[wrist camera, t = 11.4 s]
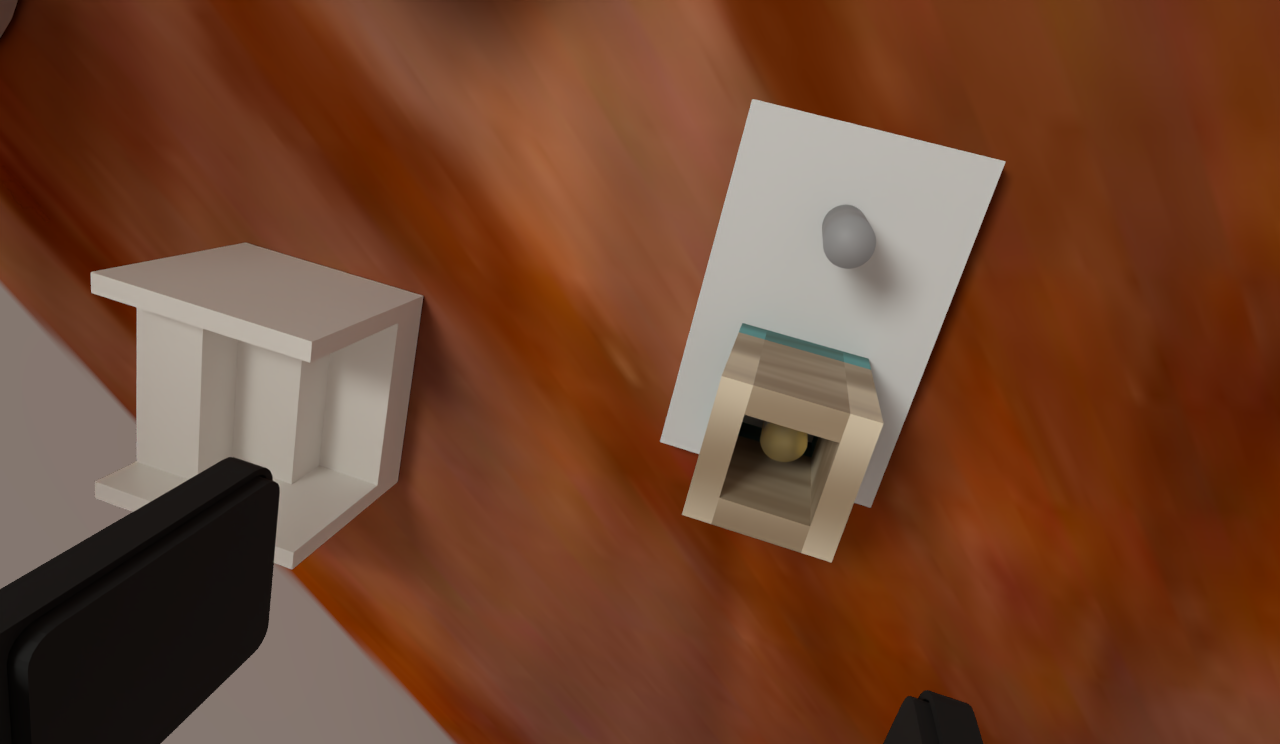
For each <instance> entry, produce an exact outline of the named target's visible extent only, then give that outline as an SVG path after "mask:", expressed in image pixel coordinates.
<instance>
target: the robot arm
mask: <svg viewBox="0 0 1280 744" xmlns="http://www.w3.org/2000/svg"><path fill="white" fill-rule="evenodd" d="M17 2H18V0H0V37H1V36H2V34H3V32H4V31H5V29H6V27H7V26H8V24H9V22H10V21H11V19H12V16H13V13H14V10H15V8H16V5H17ZM279 496H280V487H279V485H278V483H276V482H275V481H273V476H272V473H271V471H270V470H269V469H267V468H265V467H262V466H259V465H256V464H253V463H250V462H247V461H244V460H241V459H238V458H235V457H228V458H226V459H223V460H221V461H220V462H218V463H216V464H215V465H213V466H211V467H209V468H208V469H206V470H204V471H203V472H201V473H199V474H197V475H196V476H194V477H192V478H191V479H189V480H187V481H185V482H184V483H182V484H180V485H178V486H177V487H175V488H173V489H172V490H170V491H168V492H166V493H165V494H163V495H161V496H160V497H158V498H156V499H154V500H153V501H151V502H149V503H148V504H146V505H144V506H142V507H141V508H139V509H137V510H136V511H134V512H132V513H130V514H129V515H127V516H125V517H124V518H122V519H120V520H118V521H117V522H115V523H113V524H112V525H110V526H108V527H106V528H105V529H103V530H101V531H99V532H98V533H96V534H94V535H93V536H91V537H90V538H87V539H86V540H84V541H82V542H81V543H79V544H77V545H75V546H74V547H72V548H70V549H69V550H67V551H65V552H63V553H62V554H60V555H58V556H57V557H55V558H53V559H51V560H50V561H48V562H46V563H45V564H43V565H41V566H39V567H38V568H36V569H34V570H33V571H31V572H29V573H27V574H26V575H24V576H22V577H21V578H19V579H17V580H15V581H14V582H12V583H10V584H8V585H7V586H5V587H3V588H2V589H0V744H160V743H162V742H163V741H164V740H165V739H166V738H167V736H169V735H170V734H171V733H172V732H173V731H174V730H175V729H176V728H177V727H178V726H179V725H180V724H181V723H182V722H183V721H184V720H185V719H186V718H187V717H188V716H189V715H190V714H191V713H192V712H193V711H194V710H196V708H197V707H199V706H200V705H201V704H202V703H203V702H204V701H205V700H206V699H207V698H208V697H209V696H210V695H211V694H212V693H213V692H214V691H215V690H216V689H217V688H218V687H219V686H220V685H221V684H222V683H223V682H224V681H225V680H226V679H227V678H228V677H230V675H232V674H233V673H234V672H235V671H236V670H237V669H238V668H239V667H240V666H241V665H242V664H243V663H244V662H245V661H246V660H247V659H248V658H249V657H250V656H251V655H252V654H253V653H254V652H255V651H256V650H257V649H258V647H259V646H260V644H261V643H262V641H263V639H264V637H265V635H266V632H267V628H268V622H269V611H270V599H271V588H272V576H273V565H274V553H275V542H276V530H277V519H278V507H279ZM883 744H983V741H982V738H981V735H980V731H979V728H978V725H977V721H976V718H975V715H974V712H973V710H972V707H971V706H970V705H969V704H967V703H964V702H961V701H958V700H955V699H952V698H949V697H946V696H943V695H940V694H937V693H934V692H931V691H928V690H927V691H924V692H923V693H921V694H920V696H919V698H918V699H917V698H914V697H912V696H908V697H907V698H905V700H904V701H903V703H902V705H901V707H900V709H899V711H898V714H897V716H896V718H895V720H894V722H893V724H892V726H891V728H890V730H889V733H888V735H887V737H886V739H885V741H884V743H883Z"/></svg>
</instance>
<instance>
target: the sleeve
mask: <svg viewBox="0 0 1280 744" xmlns="http://www.w3.org/2000/svg"><path fill="white" fill-rule="evenodd" d="M744 415H747V416H751V417H754V418H757V419H761V420H764V421H767V422H771V423H774V424H777V425H781V426H784V427H787V428H791V429H794V430H797V431H801V432H804V433H808V434H811V435H814V437H813V440H812V443H811V442H807V448H806V450H805V452H804V453H803V454H802V456H800V457H799V458H798V459H796V460H794V461H791V462H778V461H775V460H773V459H771V458H770V457H768V456H767V455H766V454H765V452H764V451H763V449H762V447H761V443H760V436H761V431H762V428H761V427H757V426H754V425H751V424H747V423H744V422H742V421H743V417H744ZM883 424H884V423H883V419H882V414H881V410H880V406H879V401H878V397H877V393H876V389H875V384H874V380H873V376H872V371H871V367H870V363H869V359H868V358H865V357H861V356H858V355H854V354H851V353H847V352H844V351H840V350H836V349H833V348H829V347H826V346H822V345H819V344H815V343H812V342H808V341H805V340H801V339H798V338H794V337H790V336H787V335H783V334H780V333H776V332H773V331H769V330H766V329H762V328H759V327H755V326H752V325H748V324H745V323H742V325H741V328H740V330H739V333H738V335H737V338H736V341H735V343H734V346H733V348H732V351H731V353H730V356H729V358H728V361H727V363H726V366H725V369H724V371H723V374H722V376H721V380H720V383H719V387H718V390H717V394H716V397H715V401H714V404H713V408H712V411H711V415H710V418H709V422H708V425H707V429H706V432H705V436H704V439H703V443H702V446H701V450H700V453H699V457H698V460H697V464H696V467H695V471H694V474H693V478H692V481H691V485H690V488H689V492H688V495H687V499H686V502H685V506H684V509H683V513H682V515H685V516H688V517H691V518H694V519H697V520H700V521H703V522H707V523H710V524H713V525H716V526H719V527H722V528H725V529H728V530H731V531H735V532H738V533H741V534H744V535H747V536H750V537H753V538H756V539H759V540H763V541H766V542H769V543H772V544H775V545H778V546H781V547H784V548H788V549H791V550H794V551H797V552H800V553H803V554H806V555H809V556H812V557H816V558H819V559H822V560H825V561H828V562H831V563H832V560H833V557H834V555H835V552H836V549H837V547H838V544H839V541H840V539H841V536H842V533H843V531H844V528H845V525H846V523H847V520H848V517H849V515H850V512H851V509H852V507H853V504H854V501H855V499H856V496H857V493H858V491H859V488H860V485H861V483H862V480H863V477H864V475H865V472H866V469H867V467H868V464H869V461H870V459H871V456H872V453H873V451H874V448H875V445H876V443H877V440H878V437H879V435H880V432H881V429H882V427H883Z"/></svg>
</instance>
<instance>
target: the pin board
mask: <svg viewBox="0 0 1280 744" xmlns="http://www.w3.org/2000/svg"><path fill="white" fill-rule="evenodd" d="M1005 162H1006V161H1002V160H997V159H993V158H989V157H985V156H981V155H977V154H973V153H969V152H965V151H961V150H957V149H953V148H949V147H945V146H941V145H937V144H933V143H929V142H925V141H921V140H916V139H912V138H908V137H904V136H900V135H896V134H892V133H888V132H884V131H880V130H876V129H872V128H868V127H864V126H860V125H856V124H852V123H848V122H844V121H840V120H835V119H831V118H827V117H823V116H819V115H815V114H811V113H807V112H803V111H799V110H795V109H791V108H787V107H783V106H779V105H775V104H771V103H767V102H763V101H759V100H754V99H752V102H751V106H750V110H749V113H748V117H747V121H746V124H745V128H744V132H743V136H742V139H741V143H740V147H739V150H738V154H737V158H736V162H735V165H734V169H733V173H732V176H731V180H730V184H729V188H728V191H727V195H726V199H725V202H724V206H723V210H722V214H721V217H720V221H719V225H718V228H717V232H716V236H715V240H714V243H713V247H712V251H711V254H710V258H709V262H708V266H707V269H706V273H705V277H704V280H703V284H702V288H701V291H700V295H699V299H698V303H697V306H696V310H695V314H694V317H693V321H692V325H691V329H690V332H689V336H688V340H687V343H686V347H685V351H684V355H683V358H682V362H681V366H680V369H679V373H678V377H677V381H676V384H675V388H674V392H673V395H672V399H671V403H670V407H669V410H668V414H667V418H666V421H665V425H664V429H663V433H662V436H661V440H660V442H662V443H665V444H668V445H672V446H675V447H678V448H681V449H684V450H687V451H691V452H694V453H697V454H699V453H700V450H701V446H702V443H703V439H704V436H705V432H706V429H707V425H708V422H709V418H710V415H711V411H712V408H713V404H714V401H715V397H716V394H717V390H718V387H719V383H720V380H721V376H722V374H723V371H724V369H725V366H726V363H727V361H728V358H729V356H730V353H731V351H732V348H733V346H734V343H735V341H736V338H737V335H738V333H739V330H740V328H741V325H742V323H745V324H748V325H752V326H755V327H759V328H762V329H766V330H769V331H773V332H776V333H780V334H783V335H787V336H790V337H794V338H798V339H801V340H805V341H808V342H812V343H815V344H819V345H822V346H826V347H829V348H833V349H836V350H840V351H844V352H847V353H851V354H854V355H858V356H861V357H865V358H868V359H869V363H870V367H871V371H872V376H873V380H874V384H875V389H876V393H877V397H878V401H879V406H880V410H881V414H882V419H883V423H884V424H883V427H882V429H881V432H880V435H879V437H878V440H877V443H876V445H875V448H874V451H873V453H872V456H871V459H870V461H869V464H868V467H867V469H866V472H865V475H864V477H863V480H862V483H861V485H860V488H859V491H858V493H857V496H856V499H855V501H854V503H857V504H860V505H863V506H866V507H869V508H871V506H872V503H873V501H874V498H875V495H876V493H877V490H878V488H879V485H880V483H881V480H882V478H883V475H884V472H885V470H886V467H887V465H888V462H889V460H890V457H891V454H892V452H893V449H894V447H895V444H896V442H897V439H898V437H899V434H900V431H901V429H902V426H903V424H904V421H905V419H906V416H907V413H908V411H909V408H910V406H911V403H912V401H913V398H914V395H915V393H916V390H917V388H918V385H919V383H920V380H921V378H922V375H923V372H924V370H925V367H926V365H927V362H928V360H929V357H930V354H931V352H932V349H933V347H934V344H935V342H936V339H937V336H938V334H939V331H940V329H941V326H942V324H943V321H944V319H945V316H946V313H947V311H948V308H949V306H950V303H951V301H952V298H953V295H954V293H955V290H956V288H957V285H958V283H959V280H960V277H961V275H962V272H963V270H964V267H965V265H966V262H967V260H968V257H969V254H970V252H971V249H972V247H973V244H974V242H975V239H976V236H977V234H978V231H979V229H980V226H981V224H982V221H983V219H984V216H985V213H986V211H987V208H988V206H989V203H990V201H991V198H992V195H993V193H994V190H995V188H996V185H997V183H998V180H999V177H1000V175H1001V172H1002V170H1003V167H1004V165H1005ZM742 422H744V423H747V424H751V425H754V426H757V427H761V428H762V431H761V436H760V443H761V447H762V449H763V451H764V452H765V454H766V455H767V456H768V457H770V458H771V459H773V460H775V461H778V462H791V461H794V460H796V459H798V458H799V457H800V456H802V454H803V453H804V452H805V450H806V448H807V442H811V443H812V440H813V437H814V435H811V434H808V433H804V432H801V431H797V430H794V429H791V428H787V427H784V426H781V425H777V424H774V423H771V422H767V421H764V420H761V419H757V418H754V417H751V416H747V415H744V417H743V421H742Z"/></svg>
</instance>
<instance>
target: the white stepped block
mask: <svg viewBox="0 0 1280 744" xmlns="http://www.w3.org/2000/svg"><path fill="white" fill-rule="evenodd" d="M91 293H93V294H96V295H99V296H102V297H106V298H109V299H112V300H115V301H118V302H121V303H124V304H128V305H131V306H134V307H137V376H136V462H134V463H132V464H130V465H128V466H126V467H124V468H121V469H119V470H117V471H115V472H113V473H111V474H109V475H107V476H105V477H103V478H101V479H99V480H97V481H95V498H96V499H98V500H101V501H104V502H106V503H109V504H112V505H115V506H118V507H120V508H123V509H126V510H128V511H131V512H134V511H136V510H137V509H139V508H141V507H142V506H144V505H146V504H148V503H149V502H151V501H153V500H154V499H156V498H158V497H160V496H161V495H163V494H165V493H166V492H168V491H170V490H172V489H173V488H175V487H177V486H178V485H180V484H182V483H184V482H185V481H187V480H189V479H191V478H192V477H194V476H196V475H197V474H199V473H201V472H203V471H204V470H206V469H208V468H209V467H211V466H213V465H215V464H216V463H218V462H220V461H221V460H223V459H226V458H228V457H235V458H238V459H241V460H244V461H247V462H250V463H253V464H256V465H259V466H262V467H265V468H267V469H269V470H270V471H271V473H272V476H273V481H275V482H276V483H278V485H279V487H280V496H279V507H278V519H277V530H276V542H275V553H274V563H275V564H278V565H281V566H284V567H286V568H289V569H293V568H295V567H296V566H297V565H298V564H299V563H301V562H302V561H303V560H304V559H305V558H307V557H308V556H309V555H310V554H311V553H313V552H314V551H315V550H316V549H317V548H319V547H320V546H321V545H322V544H323V543H325V542H326V541H327V540H328V539H330V538H331V537H332V536H333V535H334V534H336V533H337V532H338V531H339V530H340V529H342V528H343V527H344V526H345V525H346V524H348V523H349V522H350V521H351V520H352V519H354V518H355V517H356V516H357V515H358V514H360V513H361V512H362V511H363V510H364V509H366V508H367V507H368V506H369V505H370V504H372V503H373V502H374V501H375V500H376V499H378V498H379V497H380V496H381V495H383V494H384V493H385V492H386V491H387V490H389V489H390V488H391V487H392V486H393V485H395V484H396V483H397V482H398V476H399V469H400V462H401V455H402V447H403V440H404V433H405V426H406V419H407V411H408V404H409V397H410V390H411V383H412V375H413V368H414V361H415V354H416V346H417V339H418V332H419V325H420V318H421V310H422V303H423V296H422V295H419V294H416V293H412V292H409V291H406V290H402V289H399V288H396V287H392V286H389V285H385V284H382V283H379V282H375V281H372V280H369V279H365V278H362V277H359V276H355V275H352V274H349V273H345V272H342V271H339V270H335V269H332V268H329V267H325V266H322V265H319V264H315V263H312V262H309V261H305V260H302V259H299V258H295V257H292V256H289V255H285V254H282V253H279V252H275V251H272V250H269V249H265V248H262V247H259V246H255V245H252V244H249V243H241V244H235V245H230V246H225V247H220V248H214V249H209V250H204V251H198V252H193V253H188V254H183V255H177V256H172V257H167V258H162V259H156V260H151V261H146V262H141V263H135V264H130V265H125V266H119V267H114V268H109V269H104V270H98V271H93V272H91Z"/></svg>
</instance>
